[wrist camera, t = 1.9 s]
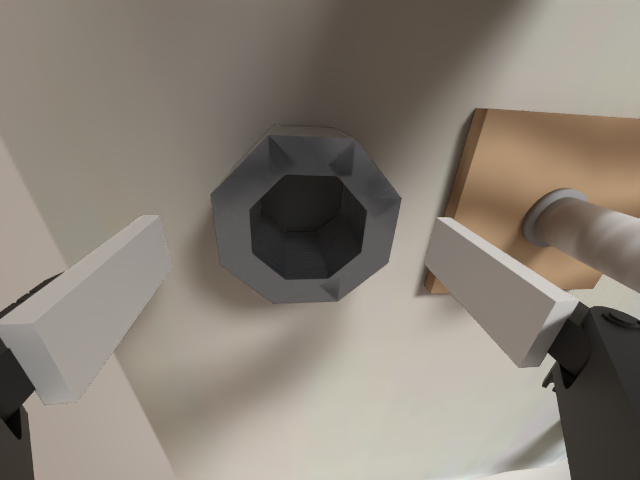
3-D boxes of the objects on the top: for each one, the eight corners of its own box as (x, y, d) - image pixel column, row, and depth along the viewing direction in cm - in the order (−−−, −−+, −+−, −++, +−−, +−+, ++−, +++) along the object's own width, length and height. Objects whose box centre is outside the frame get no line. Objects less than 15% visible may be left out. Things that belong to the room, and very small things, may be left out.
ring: (230, 122, 16) (201, 131, 10) (372, 129, 17) (413, 141, 11) (241, 250, 20) (225, 305, 14) (356, 250, 21) (380, 299, 15)
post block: (475, 108, 17) (651, 112, 9) (678, 122, 19) (972, 135, 11) (424, 284, 23) (498, 382, 15) (580, 280, 25) (719, 364, 17)
